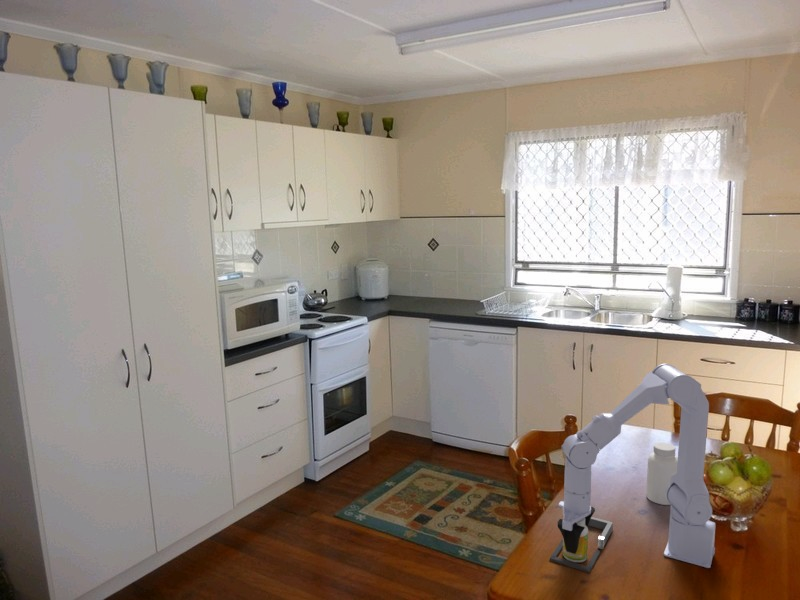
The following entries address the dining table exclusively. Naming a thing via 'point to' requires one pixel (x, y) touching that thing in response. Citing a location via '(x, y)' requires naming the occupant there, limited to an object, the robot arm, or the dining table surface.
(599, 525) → the dispenser cradle
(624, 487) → the dining table surface
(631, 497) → the dining table surface
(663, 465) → the pill bottle
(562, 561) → the rubber frame
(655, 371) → the robot arm
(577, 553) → the supplement bottle
